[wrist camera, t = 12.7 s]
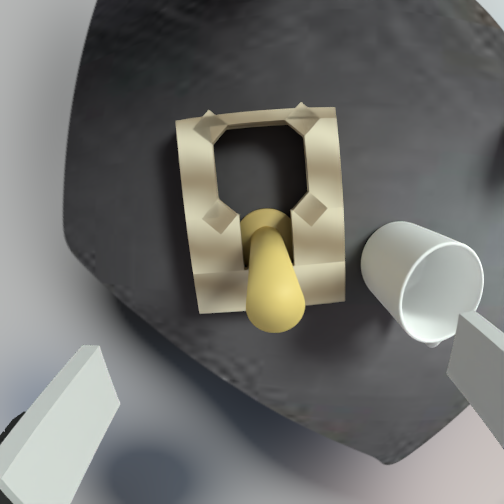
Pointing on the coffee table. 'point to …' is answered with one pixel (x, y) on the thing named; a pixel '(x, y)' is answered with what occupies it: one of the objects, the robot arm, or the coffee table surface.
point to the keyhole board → (228, 222)
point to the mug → (422, 279)
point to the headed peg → (270, 271)
